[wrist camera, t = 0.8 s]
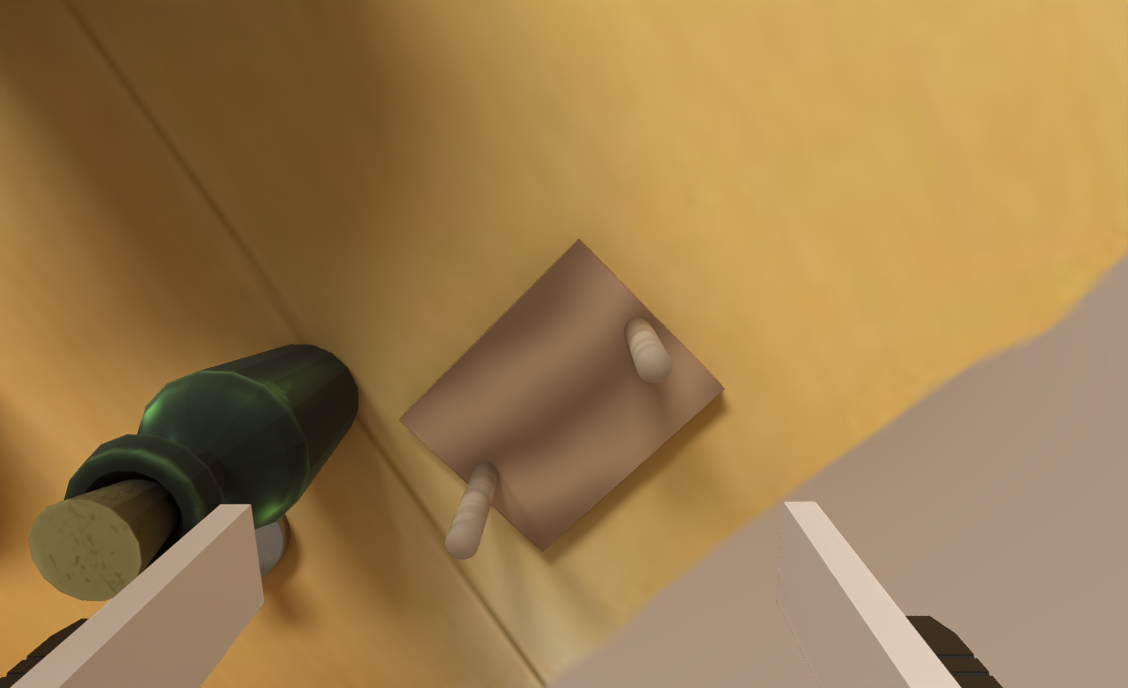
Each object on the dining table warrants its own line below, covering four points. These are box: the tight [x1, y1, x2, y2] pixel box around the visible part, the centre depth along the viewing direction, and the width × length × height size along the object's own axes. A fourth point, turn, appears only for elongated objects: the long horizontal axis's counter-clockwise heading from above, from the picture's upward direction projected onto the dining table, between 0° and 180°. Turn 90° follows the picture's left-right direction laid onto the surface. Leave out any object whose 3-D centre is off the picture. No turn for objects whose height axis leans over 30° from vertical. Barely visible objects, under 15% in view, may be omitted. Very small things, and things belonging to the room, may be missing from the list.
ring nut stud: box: [255, 515, 290, 577], centre depth 39 cm, size 6×6×5 cm
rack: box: [399, 239, 724, 559], centre depth 34 cm, size 12×15×10 cm
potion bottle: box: [29, 345, 358, 601], centre depth 30 cm, size 8×8×18 cm
